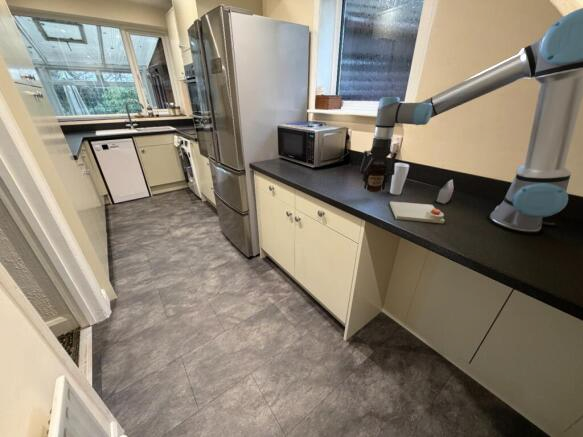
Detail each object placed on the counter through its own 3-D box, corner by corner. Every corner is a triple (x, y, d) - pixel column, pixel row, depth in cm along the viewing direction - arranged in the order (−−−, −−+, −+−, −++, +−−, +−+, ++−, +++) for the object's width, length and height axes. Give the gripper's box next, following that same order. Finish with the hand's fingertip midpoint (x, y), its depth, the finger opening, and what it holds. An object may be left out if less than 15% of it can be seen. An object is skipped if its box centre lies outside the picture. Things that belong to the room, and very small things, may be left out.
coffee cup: (384, 194, 105) (389, 166, 99) (365, 193, 107) (369, 165, 101) (381, 188, 113) (386, 161, 107) (363, 187, 114) (368, 160, 108)
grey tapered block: (436, 201, 111) (442, 181, 106) (441, 197, 115) (448, 178, 110) (444, 203, 109) (451, 183, 104) (449, 200, 113) (456, 180, 108)
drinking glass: (402, 196, 116) (410, 167, 109) (388, 194, 118) (394, 165, 111) (401, 191, 122) (408, 163, 114) (387, 190, 123) (394, 162, 116)
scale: (431, 207, 105) (433, 201, 104) (443, 223, 92) (446, 216, 91) (389, 204, 108) (391, 198, 107) (396, 219, 95) (397, 212, 94)
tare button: (437, 212, 95) (439, 208, 94) (440, 215, 92) (441, 212, 92) (429, 211, 95) (431, 208, 95) (432, 214, 93) (433, 211, 92)
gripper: (406, 137, 100) (395, 187, 111) (357, 135, 104) (351, 184, 114) (410, 139, 94) (398, 192, 104) (358, 138, 97) (352, 189, 108)
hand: (373, 188), depth 109 cm, fingers closed on coffee cup, 7 cm apart
